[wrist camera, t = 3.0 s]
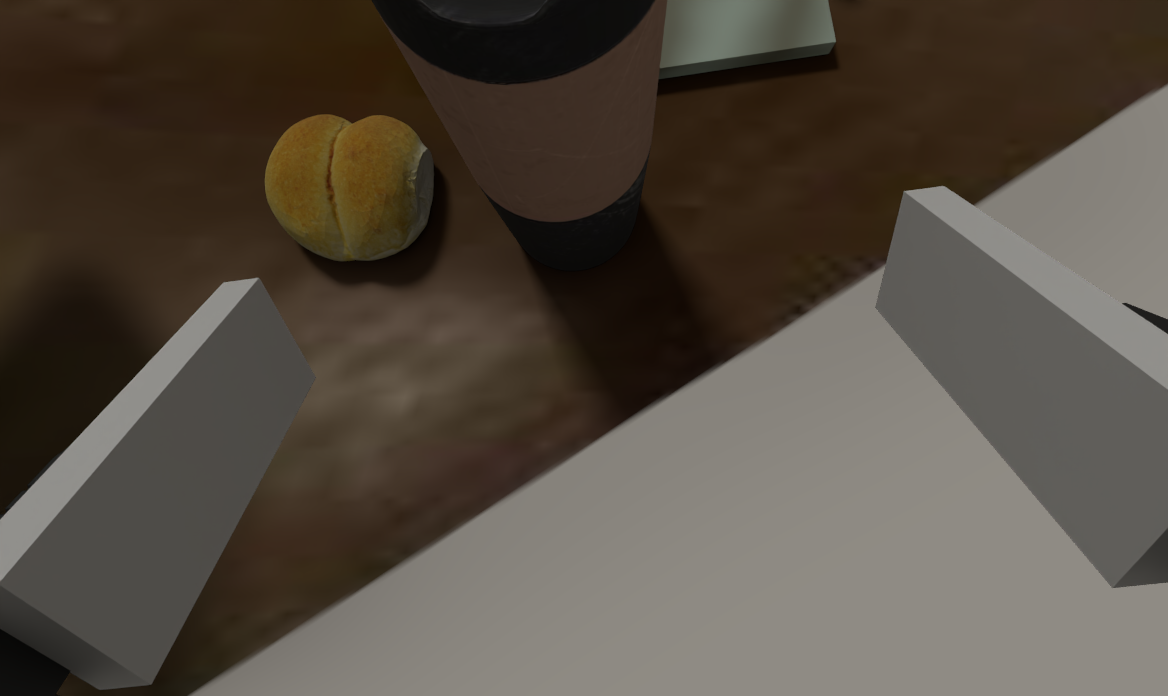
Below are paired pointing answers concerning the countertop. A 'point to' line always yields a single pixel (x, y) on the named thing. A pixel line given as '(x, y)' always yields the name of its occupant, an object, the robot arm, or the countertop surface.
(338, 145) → the bread roll
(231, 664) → the countertop surface
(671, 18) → the stepped plastic tray
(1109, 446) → the robot arm
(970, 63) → the countertop surface
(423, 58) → the travel mug
